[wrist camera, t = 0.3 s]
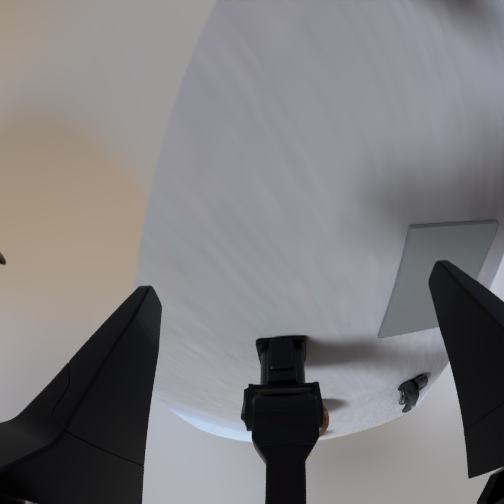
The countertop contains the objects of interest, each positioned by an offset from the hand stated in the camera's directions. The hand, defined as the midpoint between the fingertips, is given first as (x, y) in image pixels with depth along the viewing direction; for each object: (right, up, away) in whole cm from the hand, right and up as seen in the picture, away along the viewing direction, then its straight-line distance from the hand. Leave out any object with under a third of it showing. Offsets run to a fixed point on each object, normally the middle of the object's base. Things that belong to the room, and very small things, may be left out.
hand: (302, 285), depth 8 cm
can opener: (+33, -30, +42) cm, 61 cm away
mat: (+21, -3, +20) cm, 29 cm away
